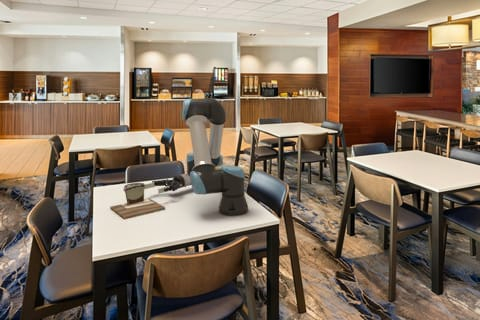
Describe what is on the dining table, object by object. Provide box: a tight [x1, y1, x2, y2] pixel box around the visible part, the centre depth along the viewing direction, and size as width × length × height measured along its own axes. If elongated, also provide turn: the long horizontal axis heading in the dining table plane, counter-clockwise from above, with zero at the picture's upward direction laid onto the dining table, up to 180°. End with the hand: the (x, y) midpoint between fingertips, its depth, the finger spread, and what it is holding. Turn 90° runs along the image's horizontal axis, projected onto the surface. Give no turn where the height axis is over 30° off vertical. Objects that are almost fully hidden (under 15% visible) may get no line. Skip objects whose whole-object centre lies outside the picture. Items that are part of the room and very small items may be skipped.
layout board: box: [109, 198, 166, 220], centre depth 190 cm, size 20×22×1 cm
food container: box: [123, 182, 146, 205], centre depth 196 cm, size 12×6×10 cm, turn 137°
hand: (151, 189), depth 201 cm, fingers open, 13 cm apart
